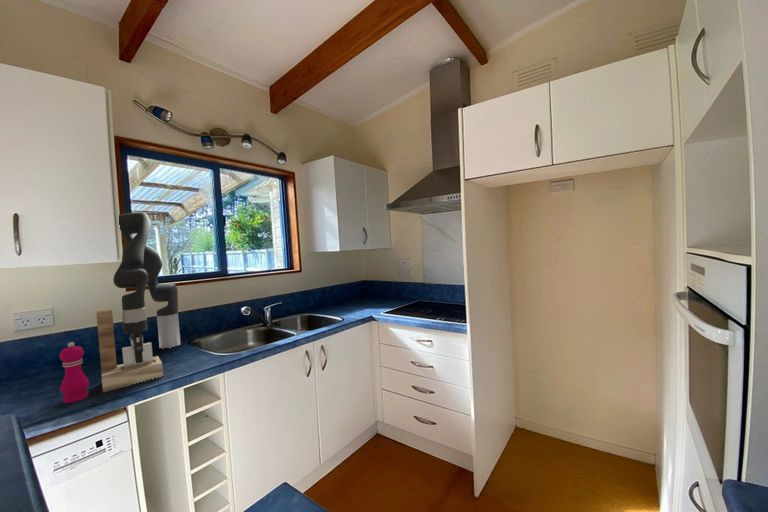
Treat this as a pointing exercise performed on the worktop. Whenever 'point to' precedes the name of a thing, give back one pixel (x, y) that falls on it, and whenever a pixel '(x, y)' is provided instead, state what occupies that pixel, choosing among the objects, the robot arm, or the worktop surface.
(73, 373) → the pepper mill
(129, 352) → the grey stone slab
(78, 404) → the worktop surface
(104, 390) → the wooden l-shaped stand
